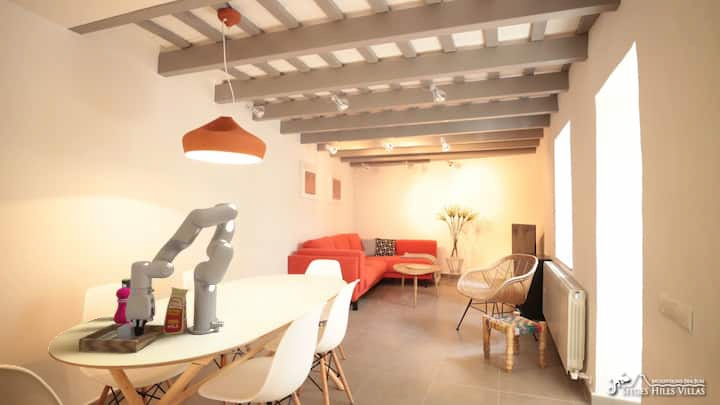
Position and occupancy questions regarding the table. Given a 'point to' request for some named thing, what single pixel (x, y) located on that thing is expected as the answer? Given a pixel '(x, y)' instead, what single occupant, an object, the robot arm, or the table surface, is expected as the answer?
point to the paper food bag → (176, 313)
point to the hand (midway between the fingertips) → (139, 335)
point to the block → (126, 332)
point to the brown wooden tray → (109, 343)
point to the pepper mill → (122, 305)
